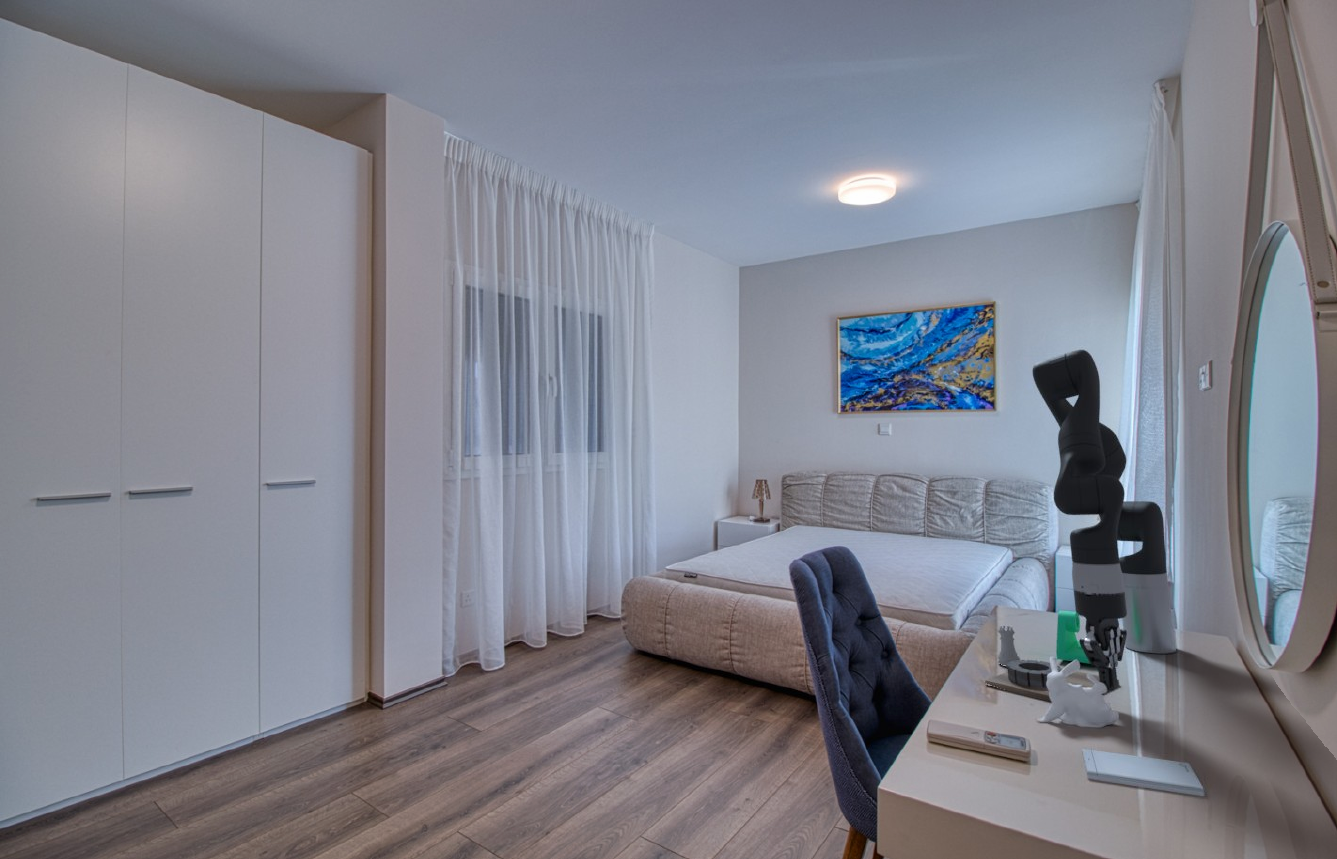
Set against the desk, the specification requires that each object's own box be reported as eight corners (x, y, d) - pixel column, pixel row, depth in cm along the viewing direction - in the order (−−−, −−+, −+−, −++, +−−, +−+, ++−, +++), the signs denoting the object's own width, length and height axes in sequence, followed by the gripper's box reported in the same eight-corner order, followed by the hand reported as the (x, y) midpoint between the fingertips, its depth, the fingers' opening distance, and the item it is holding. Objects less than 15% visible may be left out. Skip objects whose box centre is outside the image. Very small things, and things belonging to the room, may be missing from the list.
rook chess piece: (1019, 662, 136) (1015, 625, 137) (1023, 668, 132) (1019, 629, 133) (996, 661, 138) (992, 624, 139) (999, 667, 134) (996, 629, 134)
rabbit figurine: (1035, 722, 104) (1030, 663, 105) (1033, 707, 111) (1028, 651, 112) (1123, 733, 99) (1117, 670, 100) (1114, 716, 106) (1108, 657, 106)
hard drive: (1188, 761, 86) (1081, 746, 92) (1204, 787, 79) (1086, 769, 85) (1189, 774, 86) (1082, 757, 92) (1205, 801, 79) (1087, 782, 85)
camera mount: (1099, 670, 129) (1094, 619, 130) (1057, 664, 135) (1052, 615, 135) (1110, 656, 138) (1105, 609, 139) (1070, 651, 143) (1065, 605, 144)
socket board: (1033, 666, 133) (1031, 650, 133) (1119, 684, 119) (1117, 666, 120) (985, 685, 123) (984, 667, 123) (1073, 707, 110) (1071, 686, 110)
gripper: (1092, 581, 117) (1102, 676, 116) (1057, 590, 110) (1067, 691, 109) (1139, 585, 111) (1150, 685, 110) (1104, 595, 104) (1116, 703, 102)
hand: (1109, 688), depth 109 cm, fingers closed
